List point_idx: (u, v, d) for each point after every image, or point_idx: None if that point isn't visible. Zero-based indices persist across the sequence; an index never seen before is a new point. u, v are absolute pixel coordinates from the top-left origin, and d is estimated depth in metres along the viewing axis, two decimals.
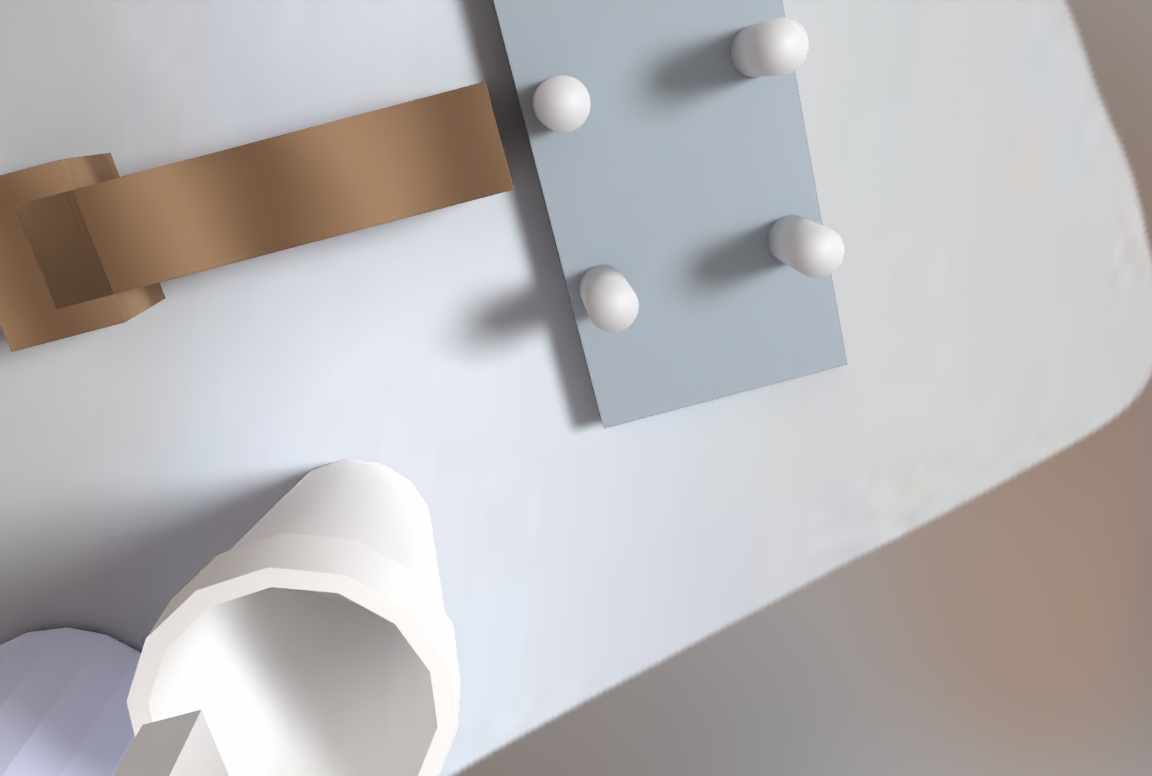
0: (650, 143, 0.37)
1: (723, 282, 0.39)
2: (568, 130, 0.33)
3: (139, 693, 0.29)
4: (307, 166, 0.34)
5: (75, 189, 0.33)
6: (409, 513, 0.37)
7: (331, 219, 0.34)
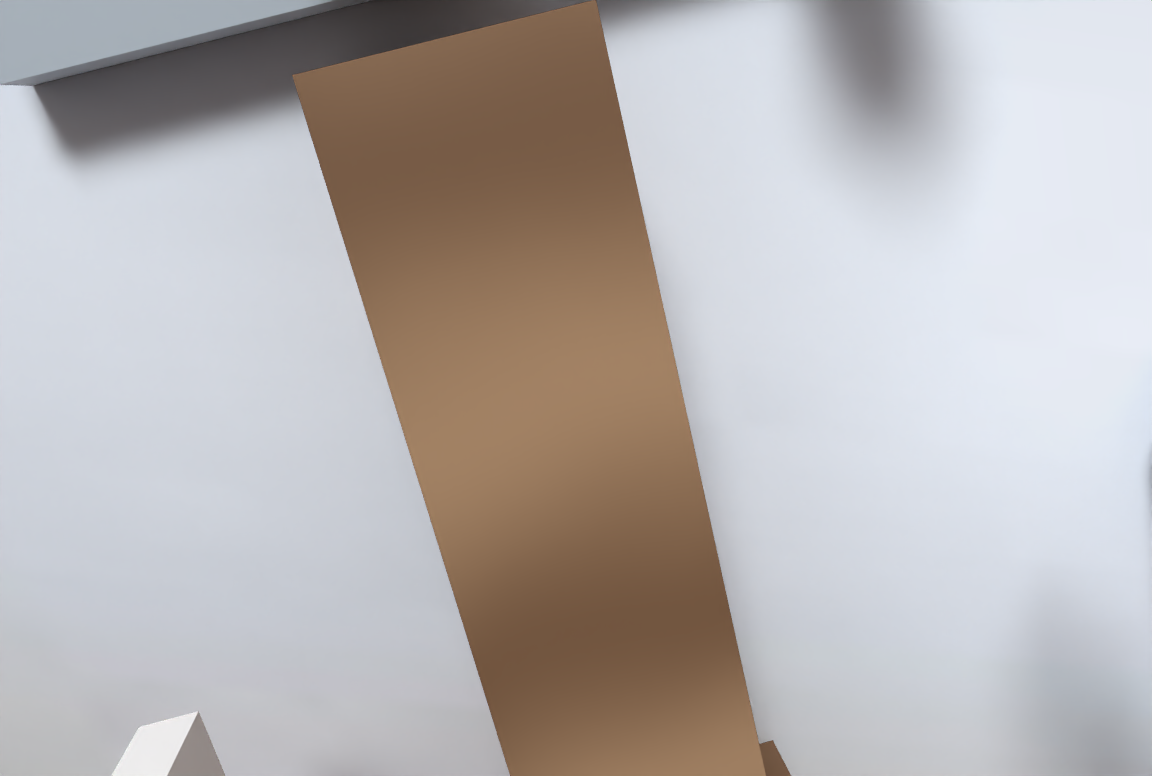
0: None
1: None
2: None
3: None
4: (529, 542, 0.14)
5: None
6: None
7: (659, 491, 0.14)
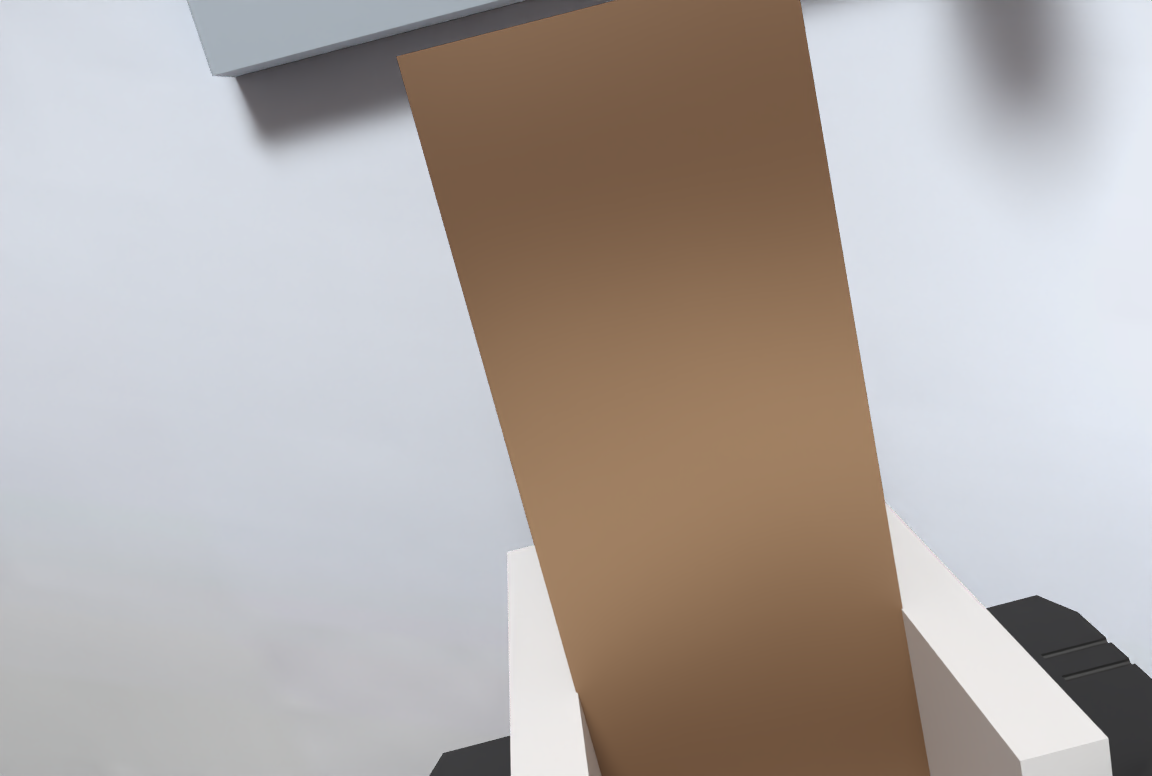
0: None
1: None
2: None
3: None
4: (675, 646, 0.11)
5: None
6: None
7: (843, 586, 0.11)
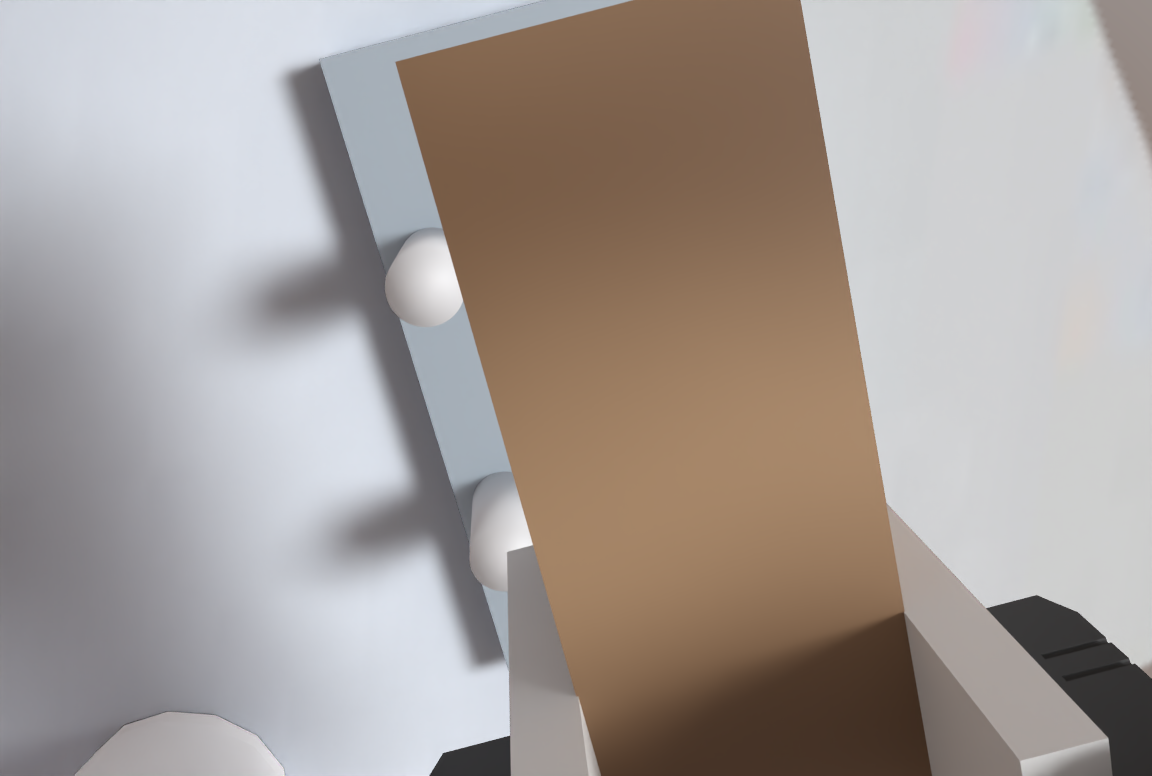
0: None
1: None
2: (433, 324, 0.23)
3: None
4: (678, 652, 0.11)
5: None
6: None
7: (845, 591, 0.11)
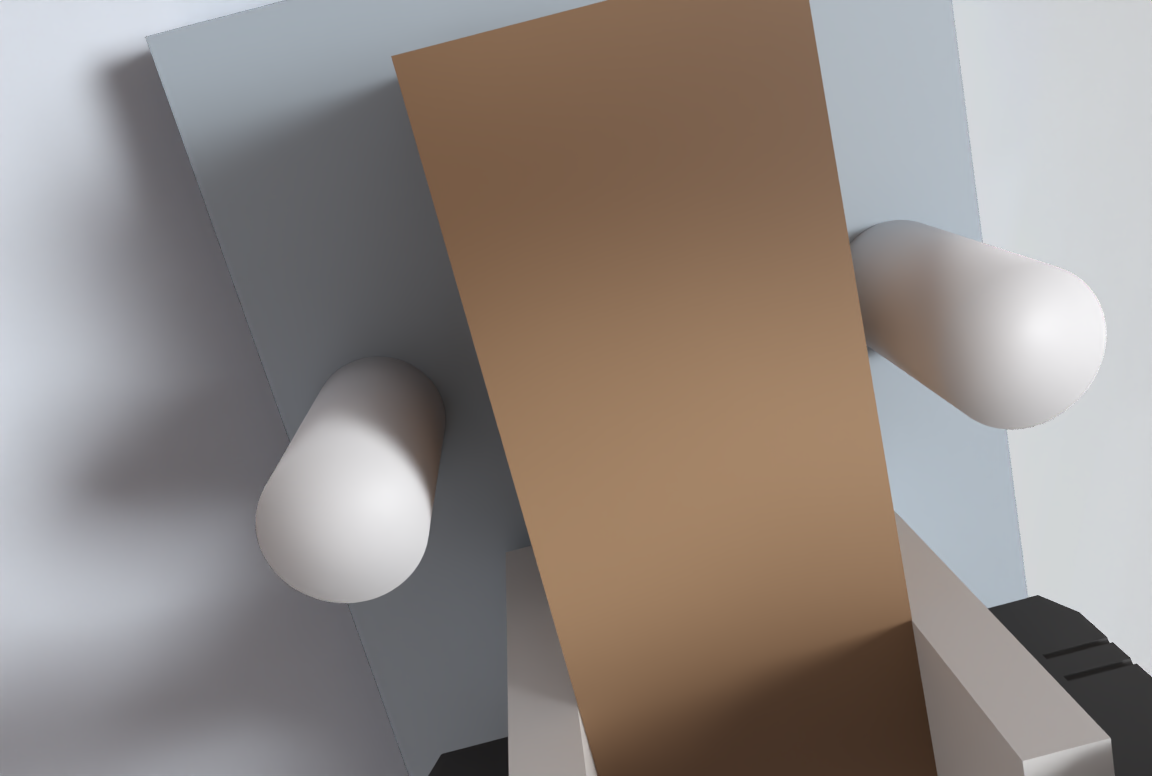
0: None
1: None
2: (363, 597, 0.11)
3: None
4: (681, 659, 0.10)
5: None
6: None
7: (851, 596, 0.10)
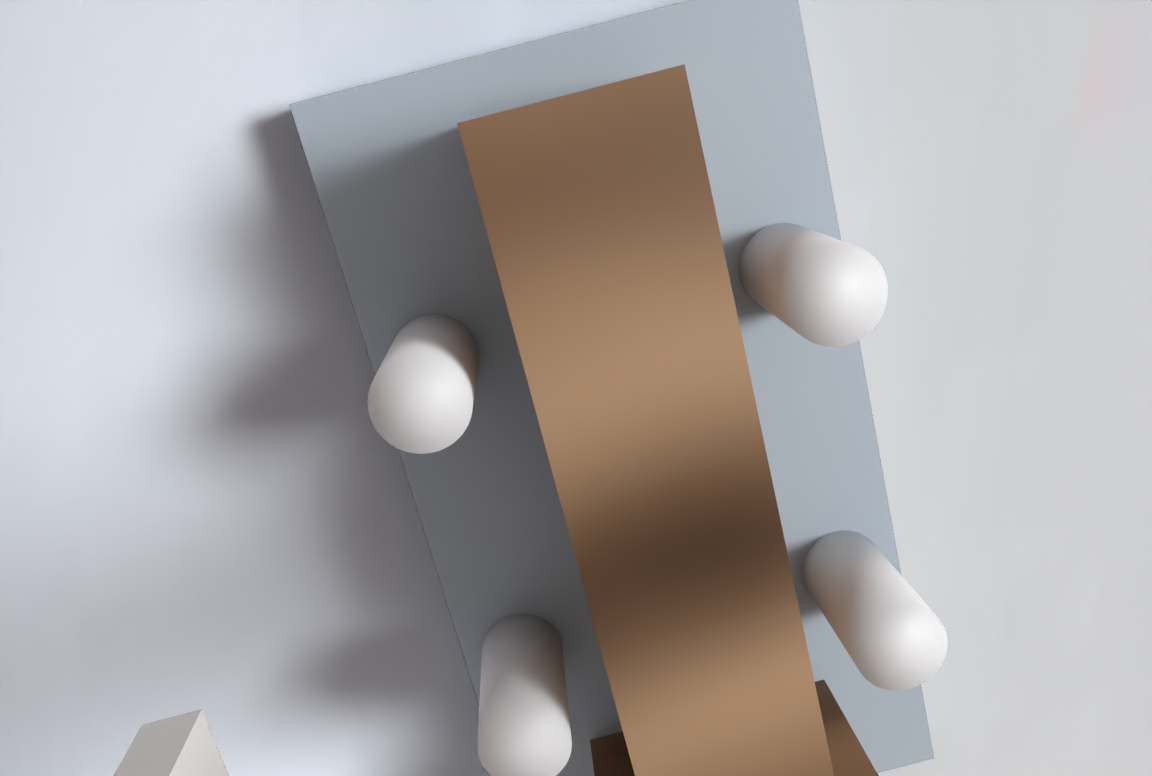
0: None
1: None
2: (431, 450, 0.18)
3: None
4: (626, 483, 0.17)
5: None
6: None
7: (730, 445, 0.17)
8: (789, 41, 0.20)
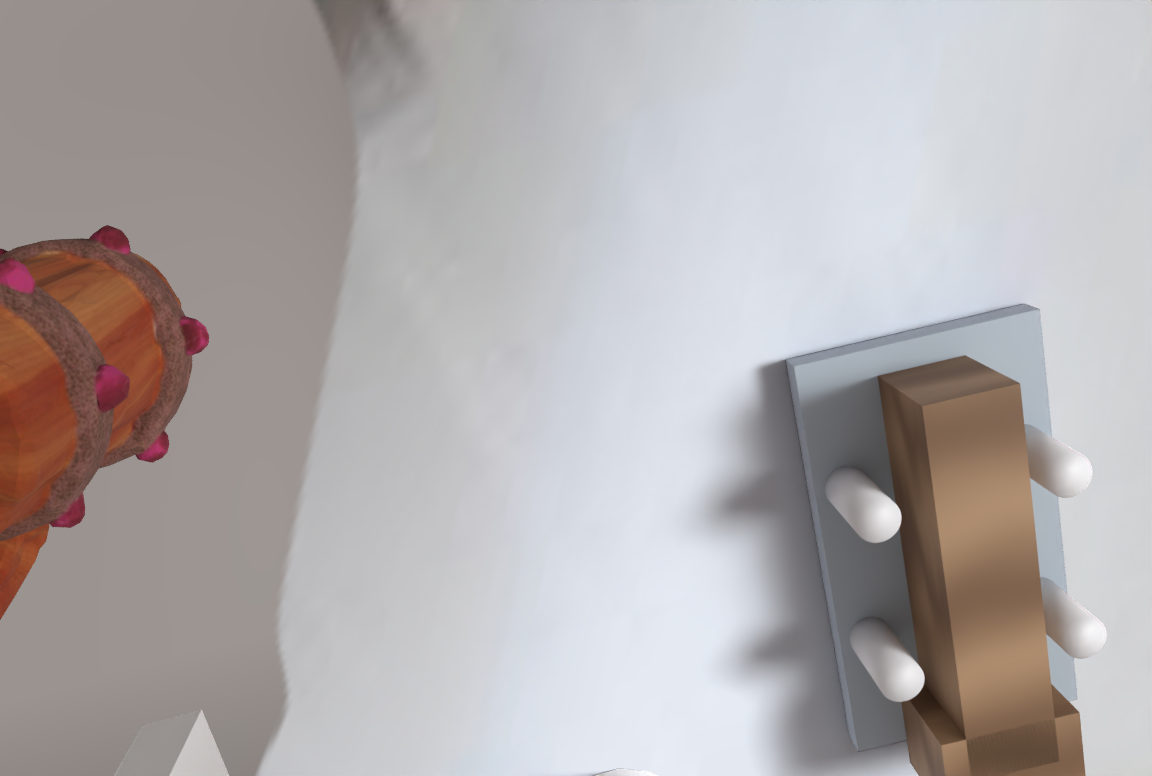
0: None
1: None
2: (880, 541, 0.38)
3: None
4: (973, 559, 0.38)
5: (965, 737, 0.40)
6: None
7: (1021, 543, 0.38)
8: (1035, 340, 0.40)
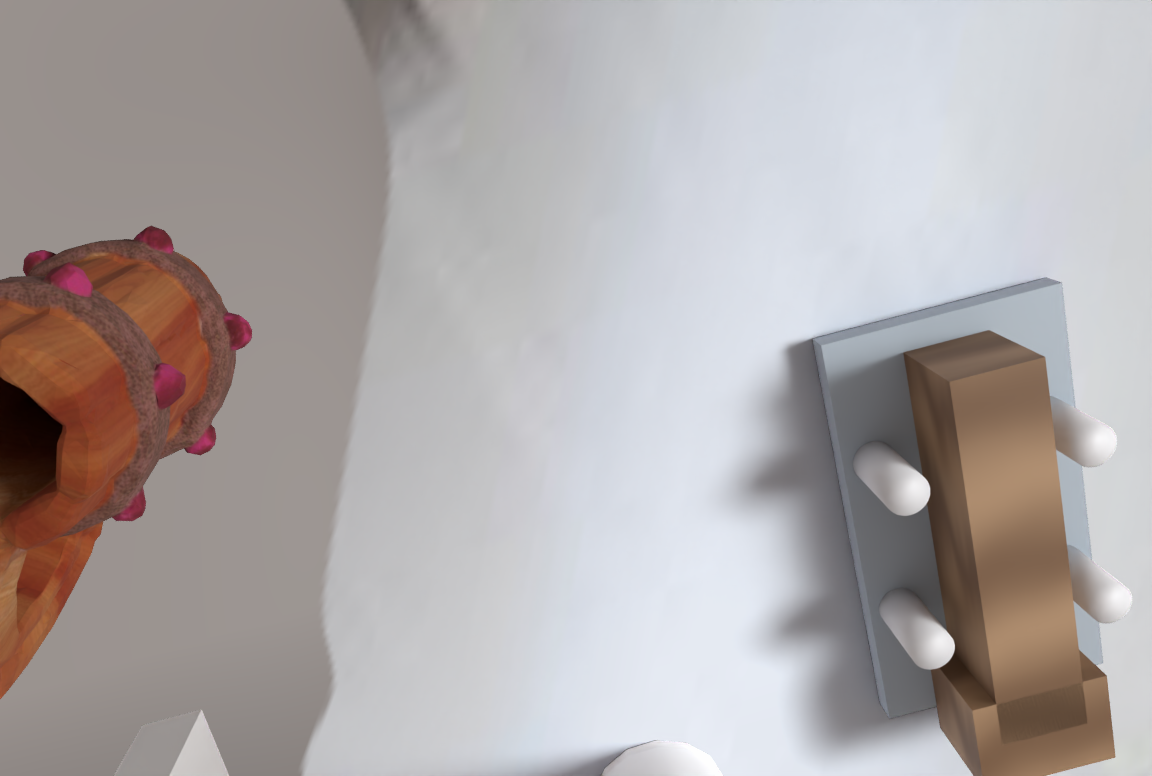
0: None
1: None
2: (909, 514, 0.39)
3: None
4: (1001, 530, 0.39)
5: (995, 702, 0.41)
6: None
7: (1048, 512, 0.39)
8: (1057, 313, 0.41)
